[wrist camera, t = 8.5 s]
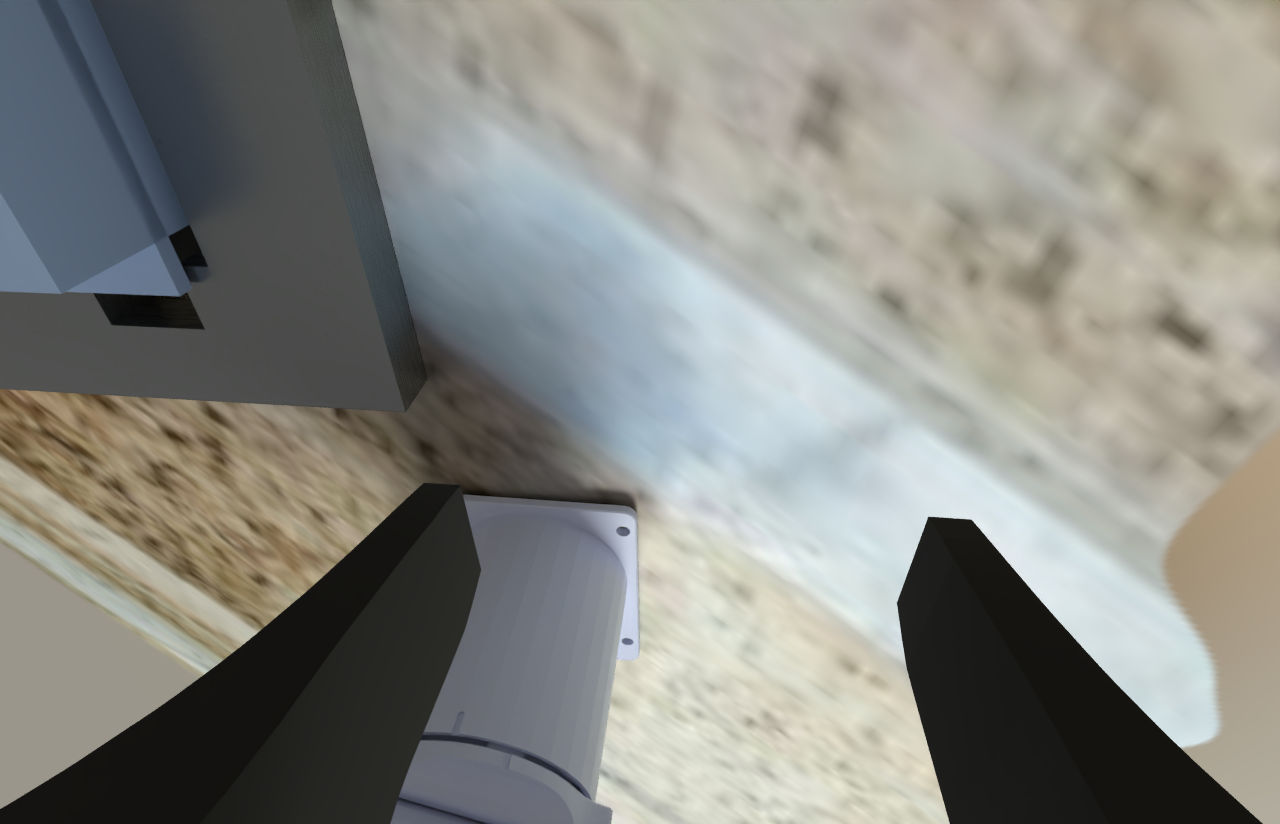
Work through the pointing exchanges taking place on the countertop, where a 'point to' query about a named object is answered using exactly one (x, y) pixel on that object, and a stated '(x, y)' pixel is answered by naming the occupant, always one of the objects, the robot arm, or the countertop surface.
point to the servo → (79, 164)
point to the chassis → (240, 227)
